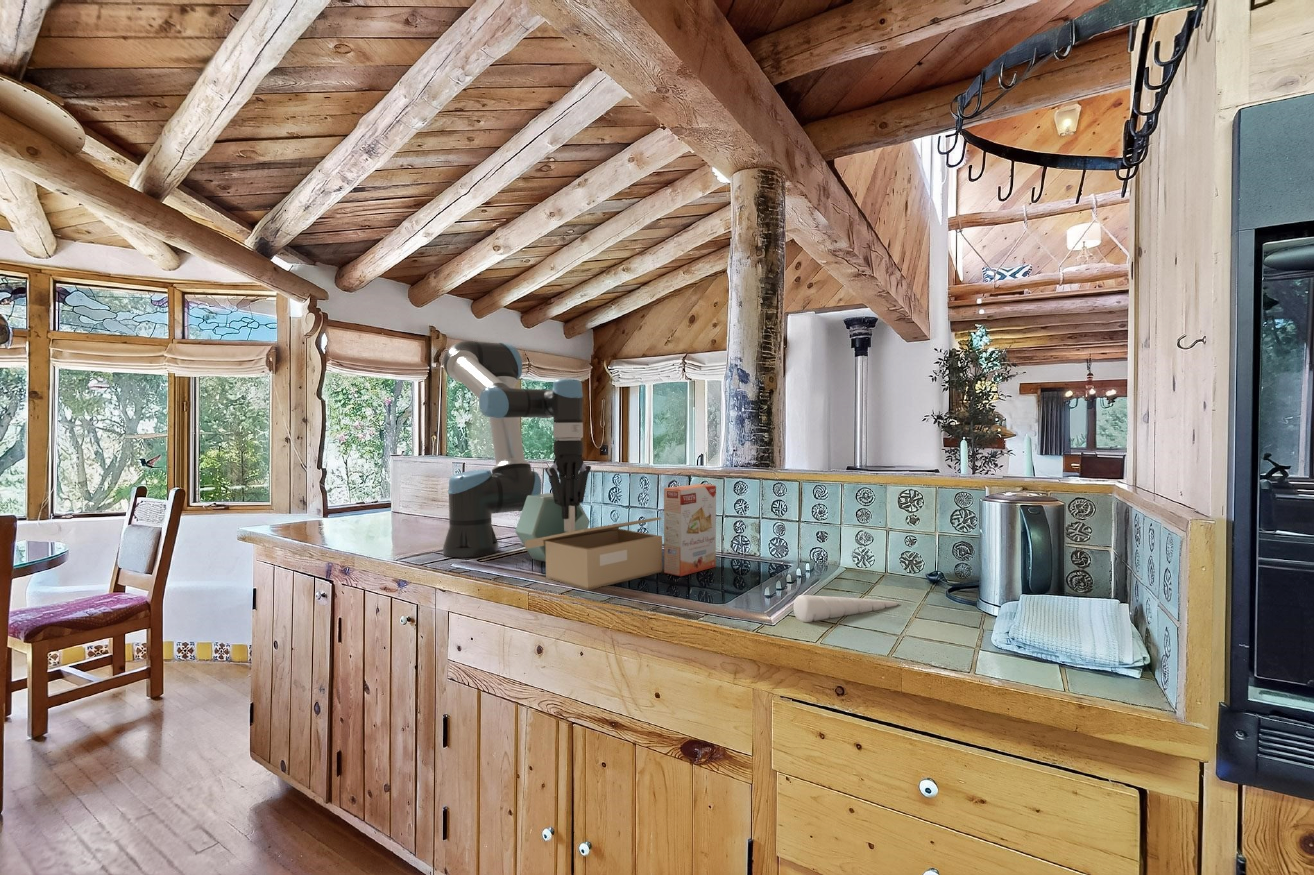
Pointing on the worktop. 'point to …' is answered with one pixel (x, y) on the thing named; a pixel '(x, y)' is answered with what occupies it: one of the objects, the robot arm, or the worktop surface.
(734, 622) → the worktop surface
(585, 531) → the lid
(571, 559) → the mailer
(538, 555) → the planter
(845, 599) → the unicorn horn
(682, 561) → the cracker box
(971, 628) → the worktop surface
